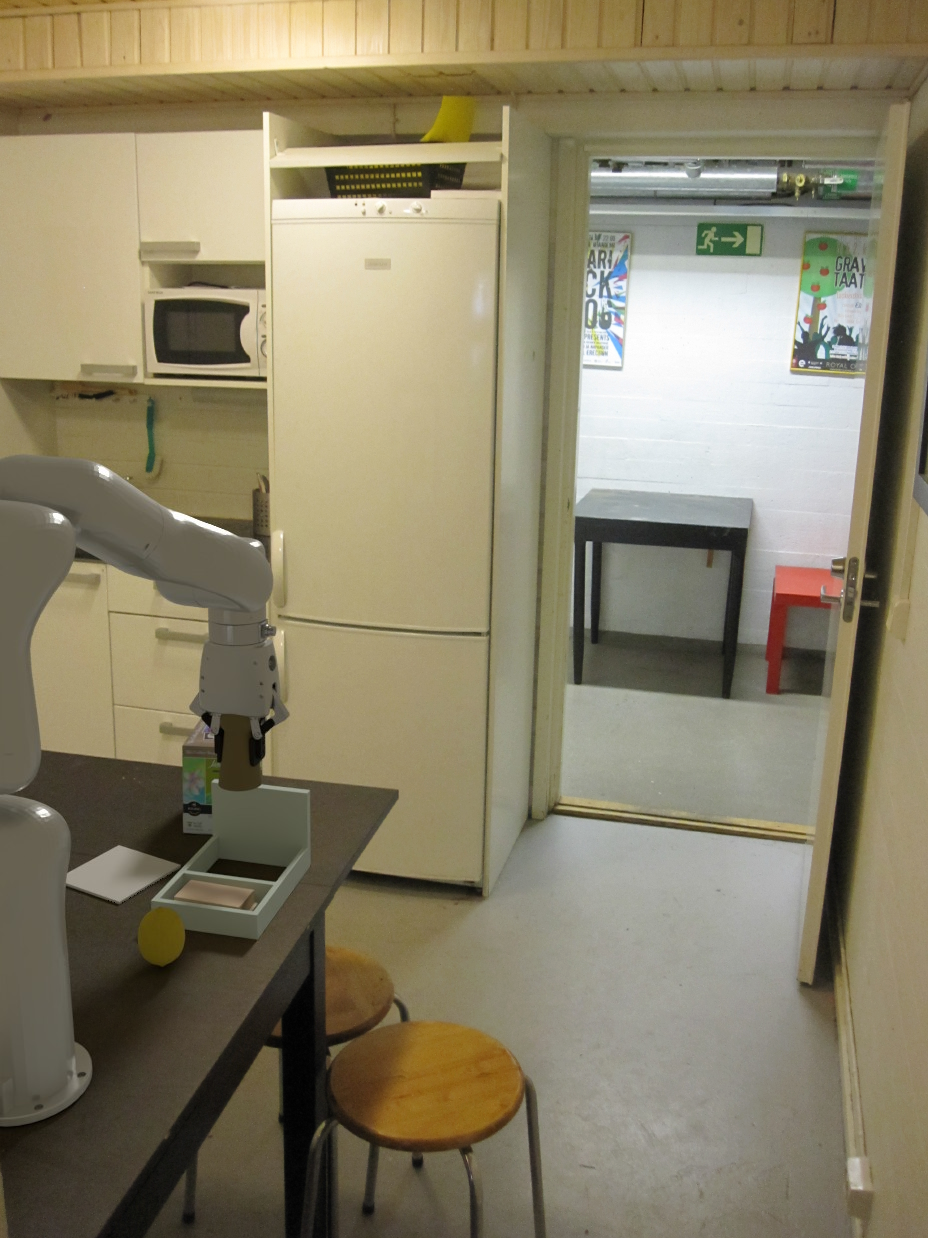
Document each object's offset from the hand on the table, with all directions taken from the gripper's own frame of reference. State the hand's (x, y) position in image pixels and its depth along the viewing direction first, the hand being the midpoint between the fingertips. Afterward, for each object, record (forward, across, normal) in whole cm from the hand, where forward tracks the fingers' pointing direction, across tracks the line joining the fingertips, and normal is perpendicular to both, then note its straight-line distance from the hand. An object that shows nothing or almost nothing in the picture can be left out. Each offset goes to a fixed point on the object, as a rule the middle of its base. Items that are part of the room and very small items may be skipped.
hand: (240, 759), depth 146 cm
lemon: (+19, +2, +21) cm, 28 cm away
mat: (+19, +18, +2) cm, 26 cm away
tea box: (+19, +12, -20) cm, 30 cm away
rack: (+19, 0, +3) cm, 19 cm away
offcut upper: (+17, 0, +9) cm, 19 cm away
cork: (+3, 0, 0) cm, 3 cm away
